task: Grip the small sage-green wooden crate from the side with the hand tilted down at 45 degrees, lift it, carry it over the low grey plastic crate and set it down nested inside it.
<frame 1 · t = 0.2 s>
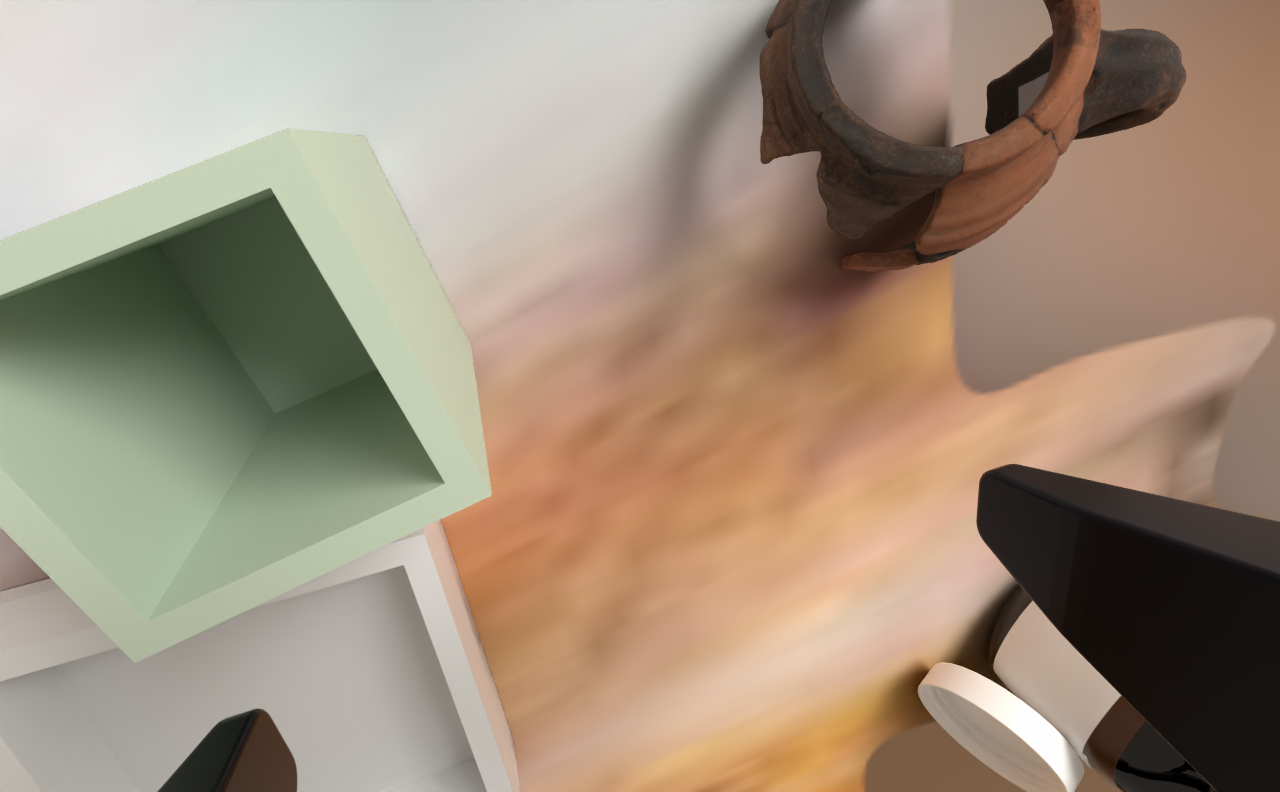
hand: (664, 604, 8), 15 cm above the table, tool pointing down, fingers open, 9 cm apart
grey crate: (296, 679, 23), on the table
pottery mug: (885, 115, 22), on the table
spread jar: (1012, 636, 34), on the table
green crate: (315, 291, 19), on the table
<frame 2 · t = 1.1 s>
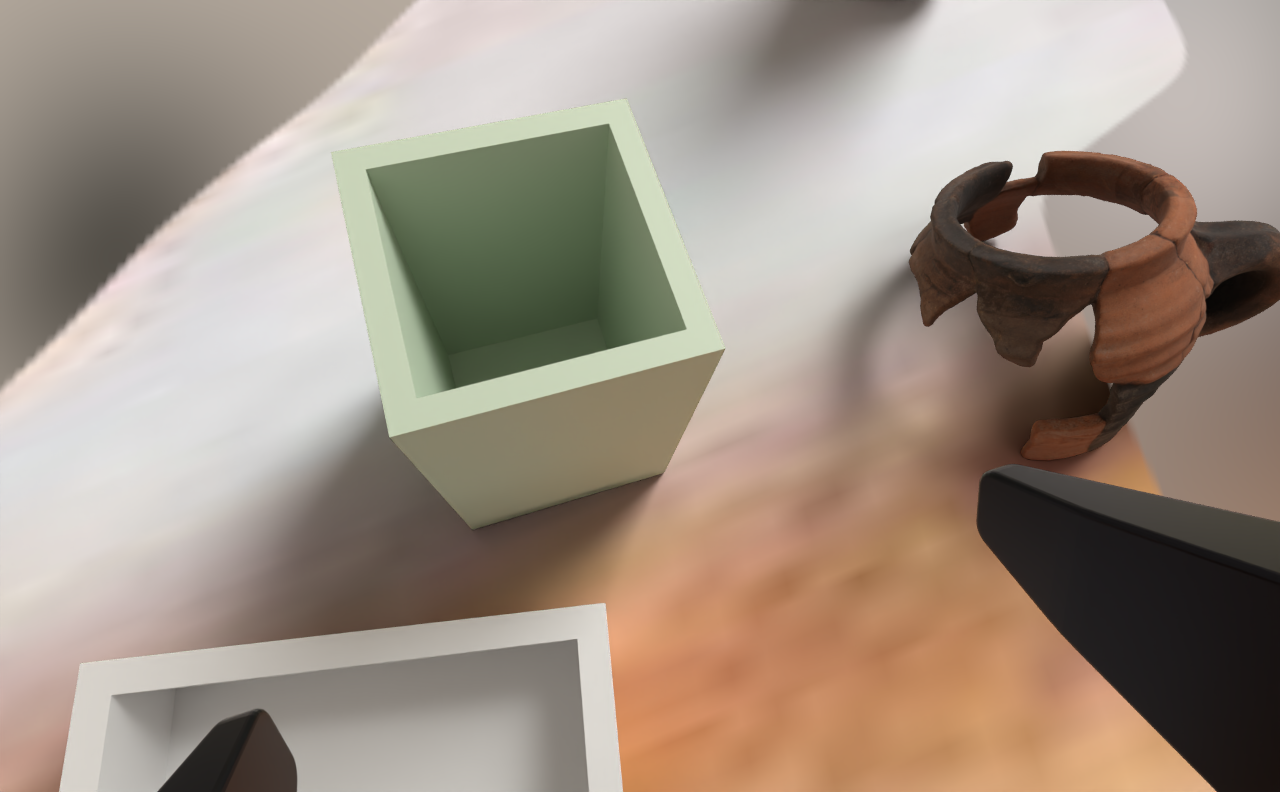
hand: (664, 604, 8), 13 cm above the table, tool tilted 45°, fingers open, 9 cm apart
pottery mug: (1027, 338, 26), on the table
green crate: (544, 411, 23), on the table
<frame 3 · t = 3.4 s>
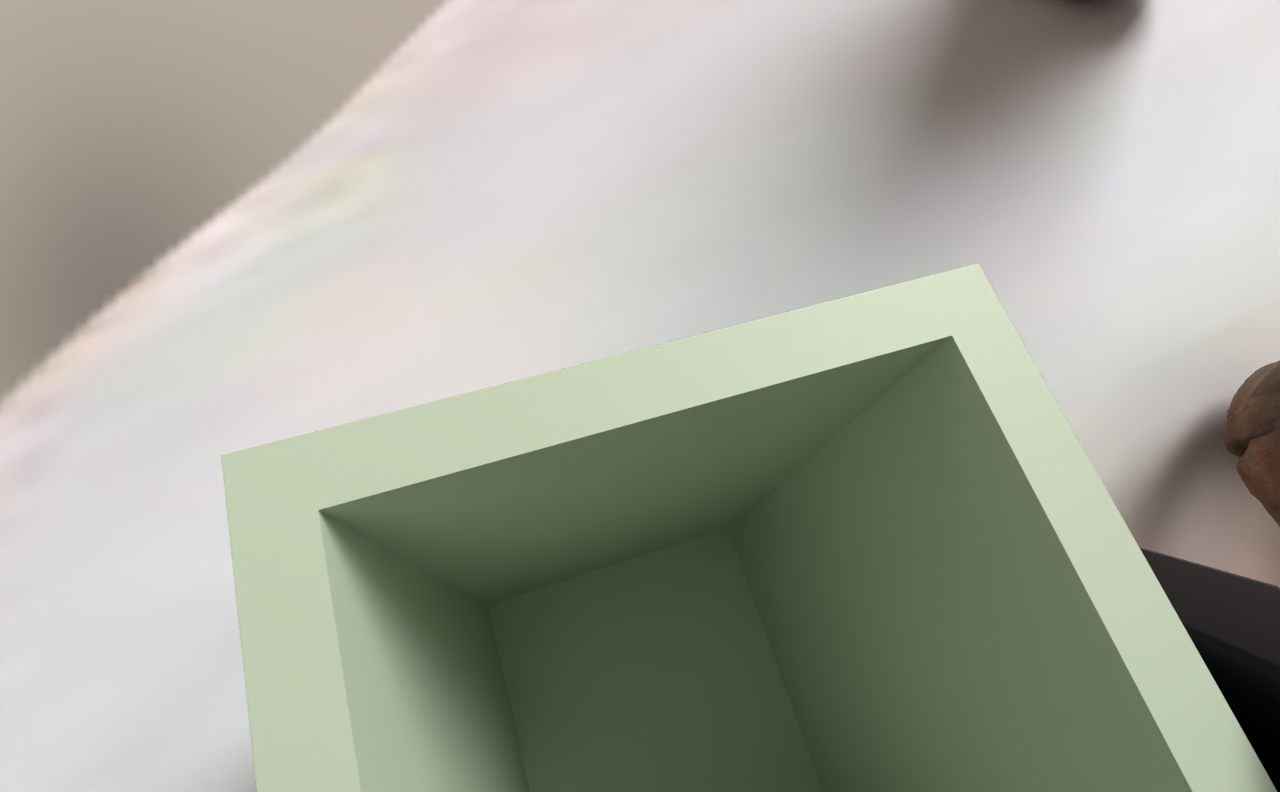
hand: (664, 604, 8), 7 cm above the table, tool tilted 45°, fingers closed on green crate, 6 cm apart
green crate: (647, 694, 14), on the table, touching gripper
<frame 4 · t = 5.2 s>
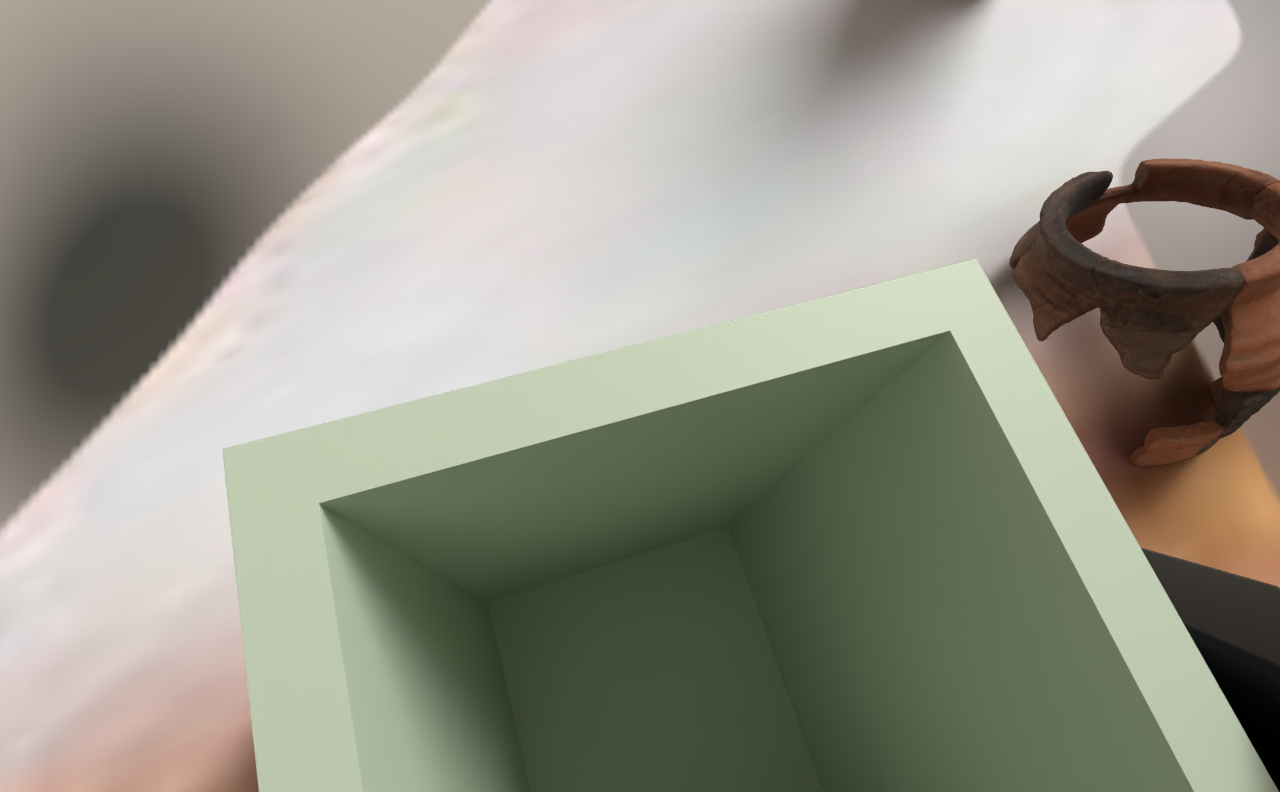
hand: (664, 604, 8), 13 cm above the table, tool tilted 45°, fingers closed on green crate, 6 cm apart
pottery mug: (1120, 343, 26), on the table
green crate: (647, 692, 14), point 7 cm above the table, touching gripper
when the fingers open (9 cm above the table, at t = 7.2 s): green crate drops 1 cm, resting on grey crate.
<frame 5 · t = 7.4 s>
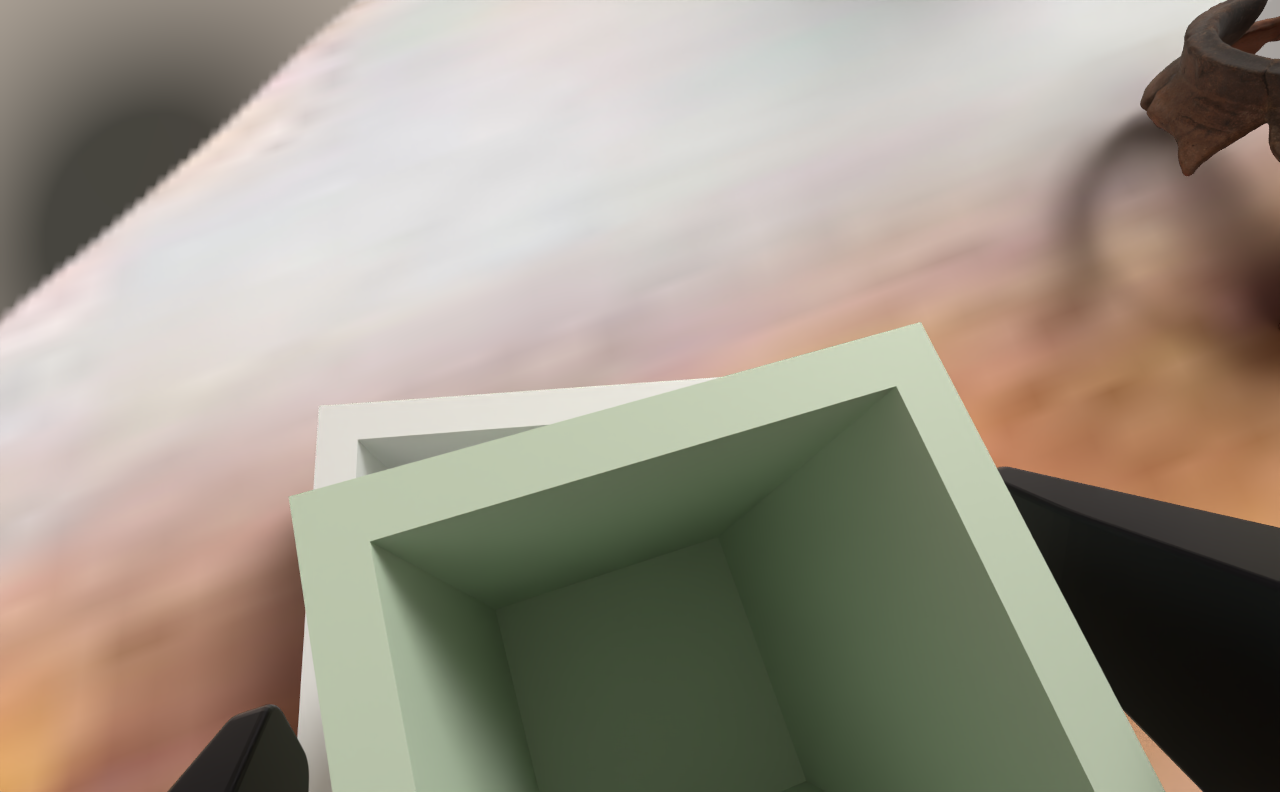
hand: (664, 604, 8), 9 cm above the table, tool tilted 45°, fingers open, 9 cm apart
grey crate: (639, 689, 15), on the table
pottery mug: (1258, 209, 23), on the table
green crate: (644, 691, 15), point 1 cm above the table, touching grey crate
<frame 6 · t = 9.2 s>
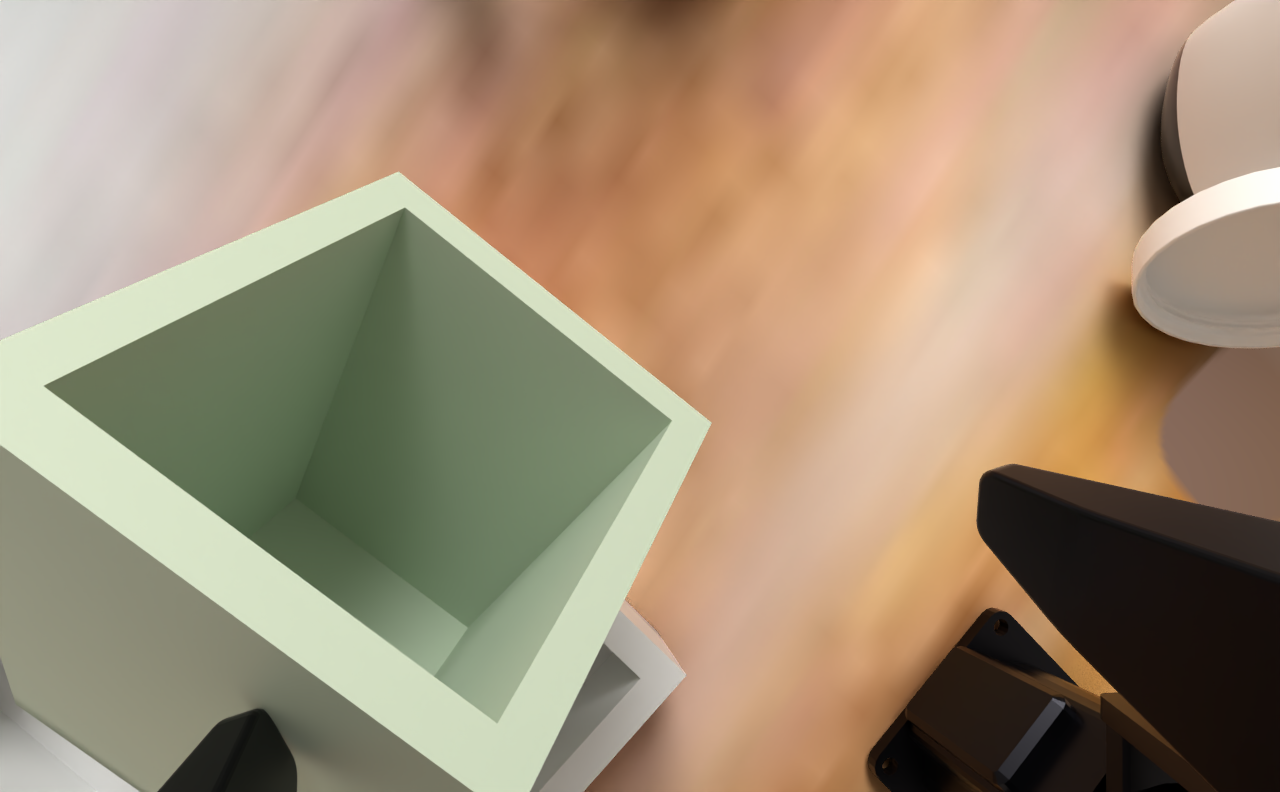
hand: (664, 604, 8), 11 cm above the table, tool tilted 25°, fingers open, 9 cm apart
grey crate: (331, 650, 18), on the table
spread jar: (1214, 198, 24), on the table
green crate: (297, 661, 15), point 3 cm above the table, tilted 42°, touching grey crate
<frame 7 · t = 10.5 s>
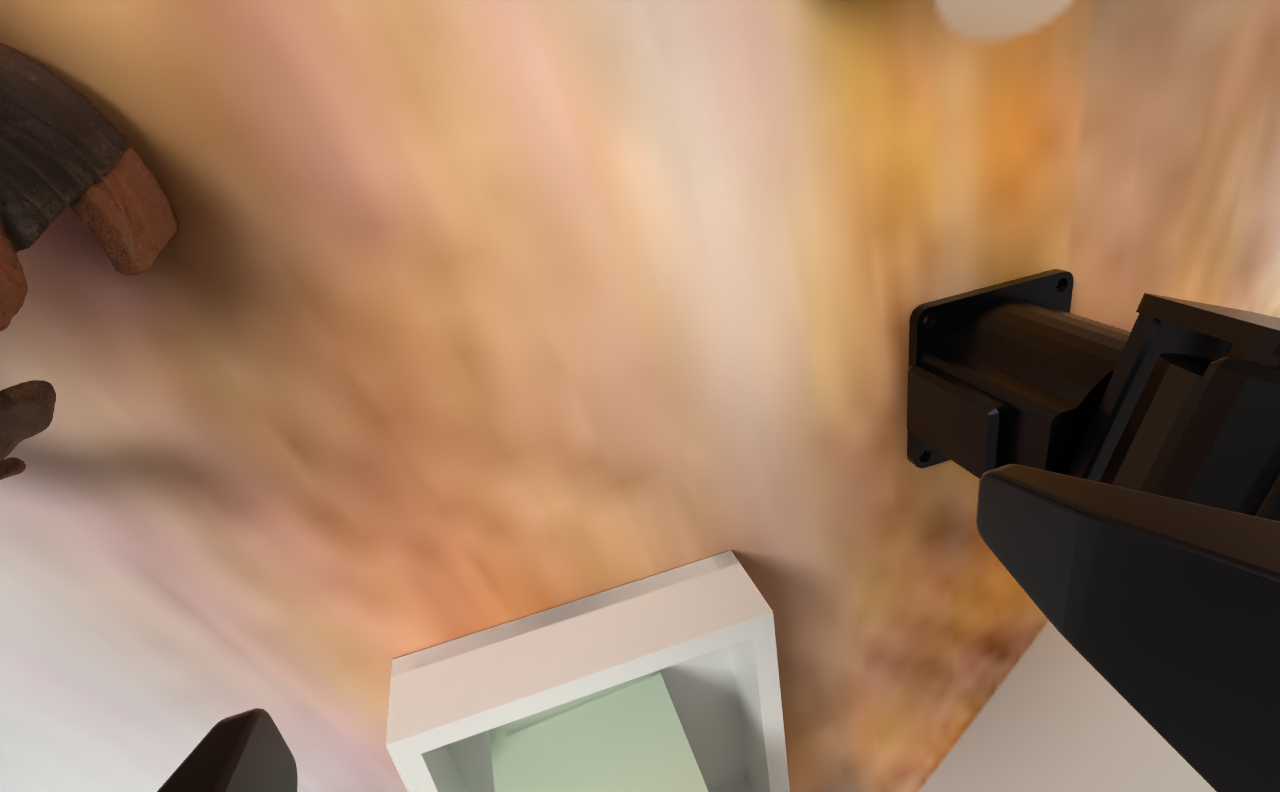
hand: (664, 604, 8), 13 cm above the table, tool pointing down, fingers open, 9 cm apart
grey crate: (601, 721, 27), on the table
green crate: (596, 750, 26), point 1 cm above the table, touching grey crate
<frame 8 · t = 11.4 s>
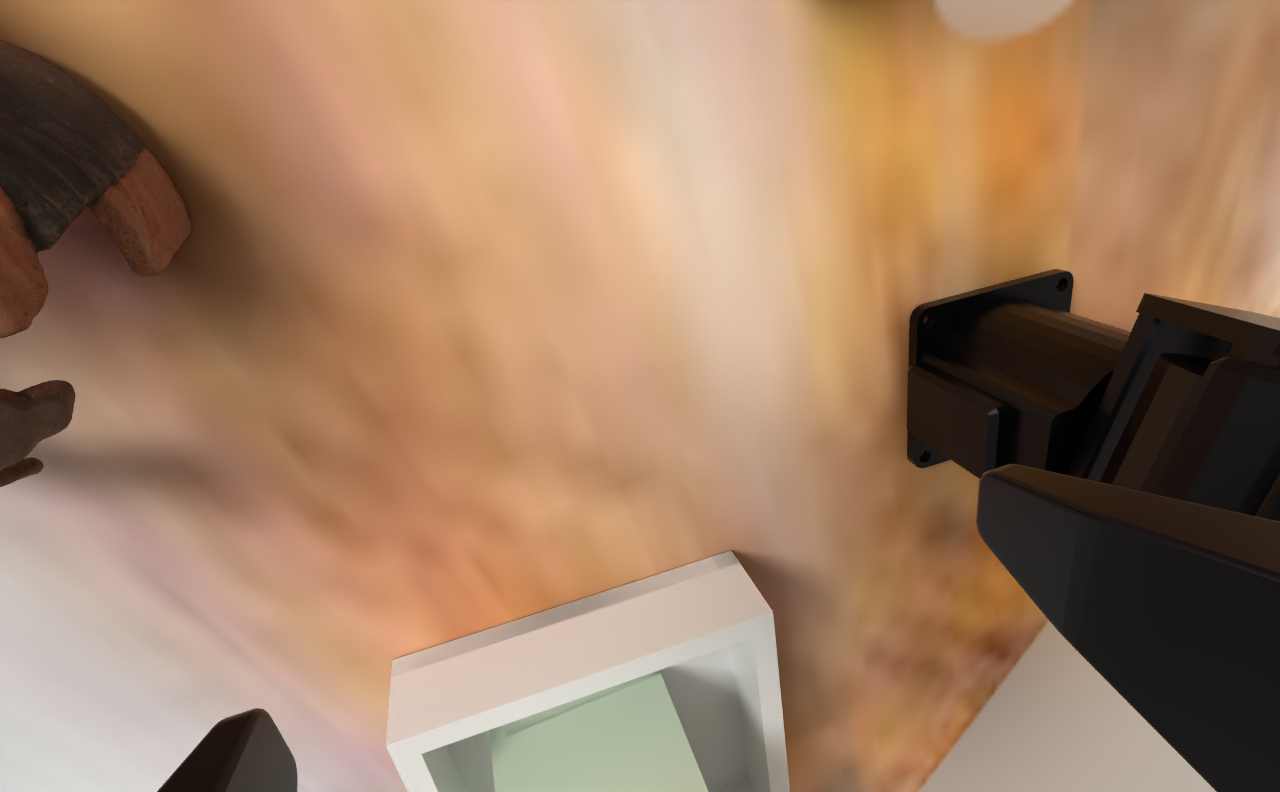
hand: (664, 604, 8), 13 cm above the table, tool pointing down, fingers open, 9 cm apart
grey crate: (601, 721, 27), on the table
green crate: (596, 750, 26), point 1 cm above the table, touching grey crate
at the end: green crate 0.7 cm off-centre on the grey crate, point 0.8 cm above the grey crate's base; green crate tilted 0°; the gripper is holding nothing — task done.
